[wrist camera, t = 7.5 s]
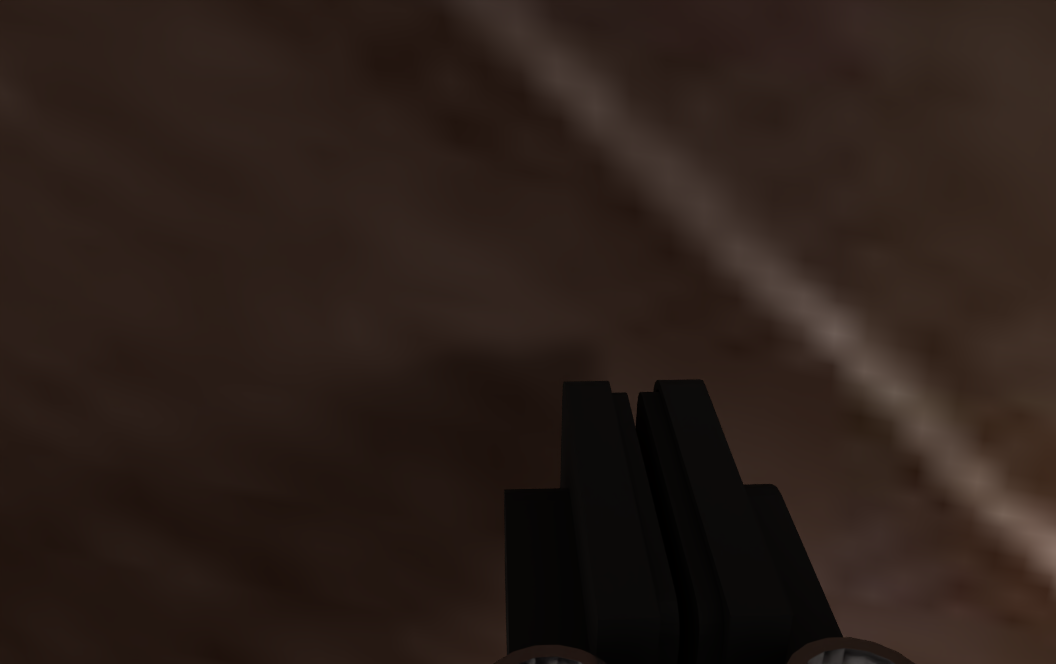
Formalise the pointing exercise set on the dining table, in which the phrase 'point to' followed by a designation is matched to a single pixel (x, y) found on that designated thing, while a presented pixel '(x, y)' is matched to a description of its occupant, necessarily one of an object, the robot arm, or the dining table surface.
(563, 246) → the dining table surface
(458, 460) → the dining table surface
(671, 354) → the dining table surface
